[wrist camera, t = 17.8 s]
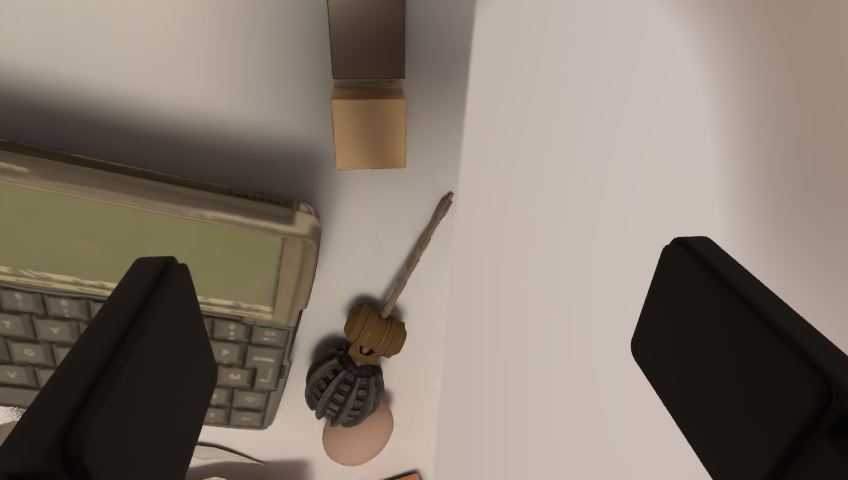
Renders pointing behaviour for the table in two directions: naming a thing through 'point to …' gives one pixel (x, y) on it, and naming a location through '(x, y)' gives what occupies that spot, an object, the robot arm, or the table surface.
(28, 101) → the table surface
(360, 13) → the block line
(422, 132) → the table surface
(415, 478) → the ink box
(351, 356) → the mace
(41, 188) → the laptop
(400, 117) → the maple block
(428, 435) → the table surface
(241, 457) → the knife
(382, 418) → the egg
